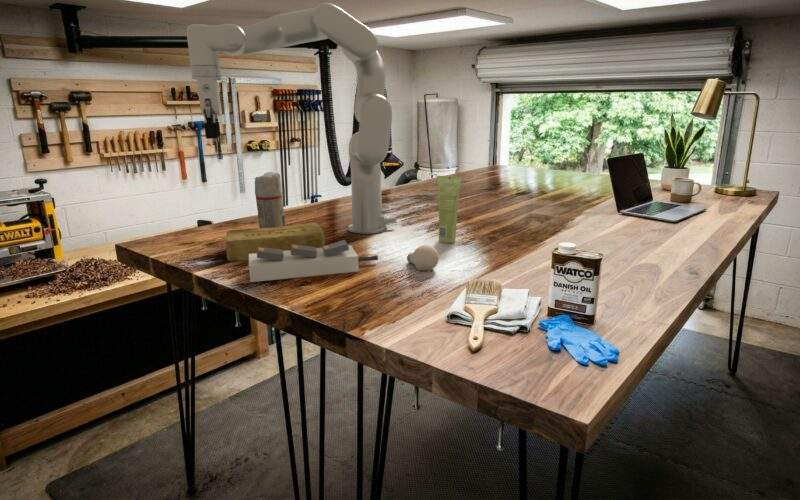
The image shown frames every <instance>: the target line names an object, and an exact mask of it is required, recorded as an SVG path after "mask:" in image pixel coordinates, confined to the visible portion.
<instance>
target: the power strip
mask: <svg viewBox="0 0 800 500" xmlns="http://www.w3.org/2000/svg"><path fill="white" fill-rule="evenodd" d="M348 248H349V250H347V251H344V252H340V253H337V254H334V255H330V256H327V257H325V254H324V252H323V249H322V248H316V250H317V255H316V258H314V257H305V256H296V255H291V252H290V250H289V251H283V254H284V255H283V261H280V260H271V259H261V258H257V253H254V254H249V261H248V271H249V281H250V283H256V282H265V281H266V282H267V281H275V280H276V281H277V280H287V279H295V278H297V279H298V278H306V277H317V276H327V275H334V274H336V275H337V274H346V273H355V272H356V273H357V272H359V271H360V270H359V262H370V261H371V262H372V261H378V260H379V256H378V255H377V254H375V255H367V256H359V255H358V254H357V252H356V250H355V249H354V248H353V246H352V245H350V244H349V245H348Z"/></svg>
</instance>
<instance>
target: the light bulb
mask: <svg viewBox="0 0 800 500" xmlns="http://www.w3.org/2000/svg"><path fill="white" fill-rule="evenodd" d="M406 261H407V262H408V263H409V264H413V265H414V266H415V268H416V269H418V270H421V271H423V272H427V271H428V272H429V271H432V270H433V269H435V268H436V266H437V265H438V264H439V253H438V251H437V249H436V248H434V247H433V246H432V245H428V244H423V245H419V246H418V247H416V248H415V249H414V251H412V252H411V253H408V254H407V256H406Z"/></svg>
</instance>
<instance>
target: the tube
mask: <svg viewBox="0 0 800 500" xmlns="http://www.w3.org/2000/svg"><path fill="white" fill-rule="evenodd" d="M462 183H463V176H446V175H436V185H437V186H436V187H437V198H438V199H437V202H438V203H437V204H438V241H439V242H440V243H443V244H444V243H446V244H450V243H455V242H456V236H457V235H456V234H457V222H458V210H459V203H460V201H459V200H460V193H461V188H462V187H461V186H462Z"/></svg>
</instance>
